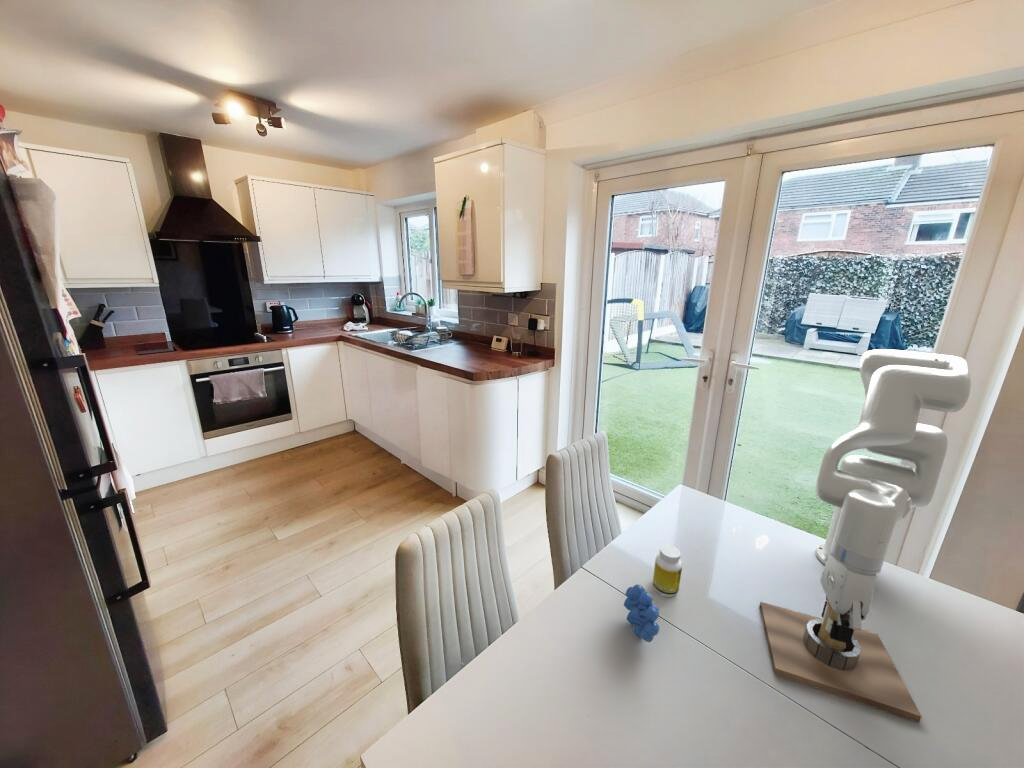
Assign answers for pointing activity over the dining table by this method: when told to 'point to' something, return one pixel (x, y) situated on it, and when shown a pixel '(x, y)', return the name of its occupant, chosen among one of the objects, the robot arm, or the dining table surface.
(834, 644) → the sprinkles bottle
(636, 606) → the grapes
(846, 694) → the socket board
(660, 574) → the pill bottle
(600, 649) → the dining table surface
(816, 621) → the collar
